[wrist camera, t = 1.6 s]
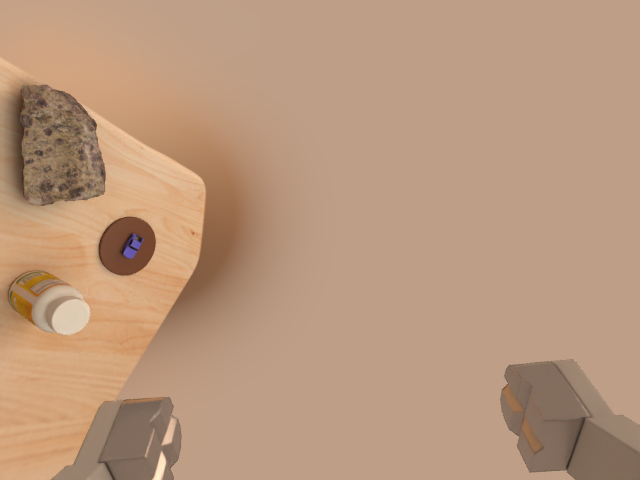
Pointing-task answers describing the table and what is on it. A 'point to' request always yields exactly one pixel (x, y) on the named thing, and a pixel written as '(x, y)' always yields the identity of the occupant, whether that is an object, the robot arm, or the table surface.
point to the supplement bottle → (49, 303)
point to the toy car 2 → (127, 246)
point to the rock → (59, 148)
